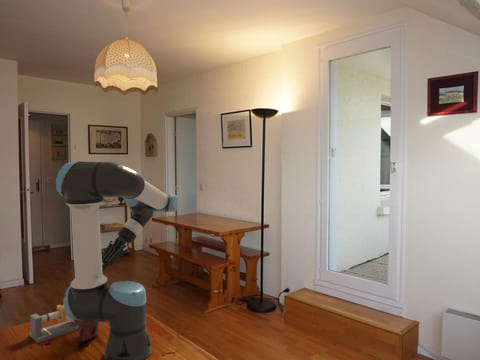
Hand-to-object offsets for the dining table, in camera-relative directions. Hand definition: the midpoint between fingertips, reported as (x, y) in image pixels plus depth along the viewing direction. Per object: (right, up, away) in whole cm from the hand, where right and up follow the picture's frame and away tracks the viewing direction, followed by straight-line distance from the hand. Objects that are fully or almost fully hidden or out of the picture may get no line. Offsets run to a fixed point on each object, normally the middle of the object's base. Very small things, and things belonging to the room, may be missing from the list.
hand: (93, 277), depth 147 cm
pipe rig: (-9, -18, -10) cm, 23 cm away
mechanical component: (+4, -18, -15) cm, 24 cm away
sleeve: (-7, -16, -7) cm, 18 cm away
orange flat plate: (-9, -14, -10) cm, 19 cm away
